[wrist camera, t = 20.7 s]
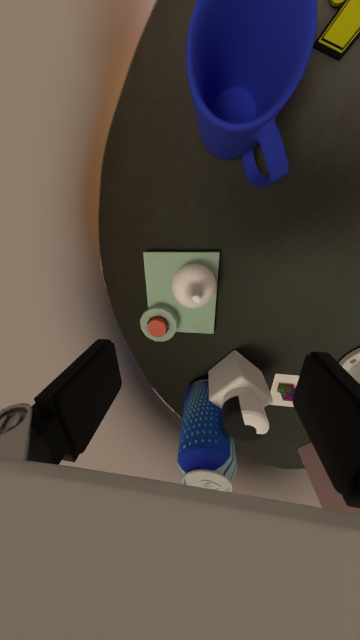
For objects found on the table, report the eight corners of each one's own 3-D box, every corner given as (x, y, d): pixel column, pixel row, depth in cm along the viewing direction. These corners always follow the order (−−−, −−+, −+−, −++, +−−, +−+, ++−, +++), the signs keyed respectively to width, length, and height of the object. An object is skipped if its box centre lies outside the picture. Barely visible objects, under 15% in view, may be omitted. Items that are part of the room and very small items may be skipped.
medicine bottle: (233, 390, 38) (245, 454, 27) (207, 370, 36) (208, 429, 25) (261, 370, 35) (287, 433, 24) (234, 348, 33) (248, 404, 23)
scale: (212, 335, 33) (213, 344, 30) (147, 331, 34) (142, 340, 31) (219, 251, 27) (220, 253, 24) (139, 251, 28) (132, 253, 26)
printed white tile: (316, 377, 34) (324, 387, 31) (303, 407, 37) (309, 419, 35) (275, 373, 35) (280, 383, 32) (266, 404, 38) (270, 415, 36)
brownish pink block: (297, 451, 43) (339, 551, 29) (295, 430, 40) (341, 530, 26) (354, 448, 40) (430, 557, 27) (357, 426, 37) (443, 534, 24)
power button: (168, 333, 31) (166, 337, 29) (150, 332, 31) (147, 336, 30) (167, 316, 29) (165, 320, 28) (149, 315, 30) (146, 319, 28)
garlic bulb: (167, 270, 28) (154, 284, 21) (208, 255, 26) (209, 264, 19) (182, 308, 30) (175, 331, 23) (220, 296, 28) (225, 317, 21)
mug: (225, 215, 25) (236, 205, 16) (181, 110, 21) (163, 19, 12) (289, 175, 22) (345, 137, 13) (251, 48, 19) (295, -126, 10)
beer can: (194, 409, 41) (188, 503, 27) (180, 381, 38) (164, 470, 24) (231, 402, 39) (247, 501, 25) (219, 371, 36) (229, 464, 22)
